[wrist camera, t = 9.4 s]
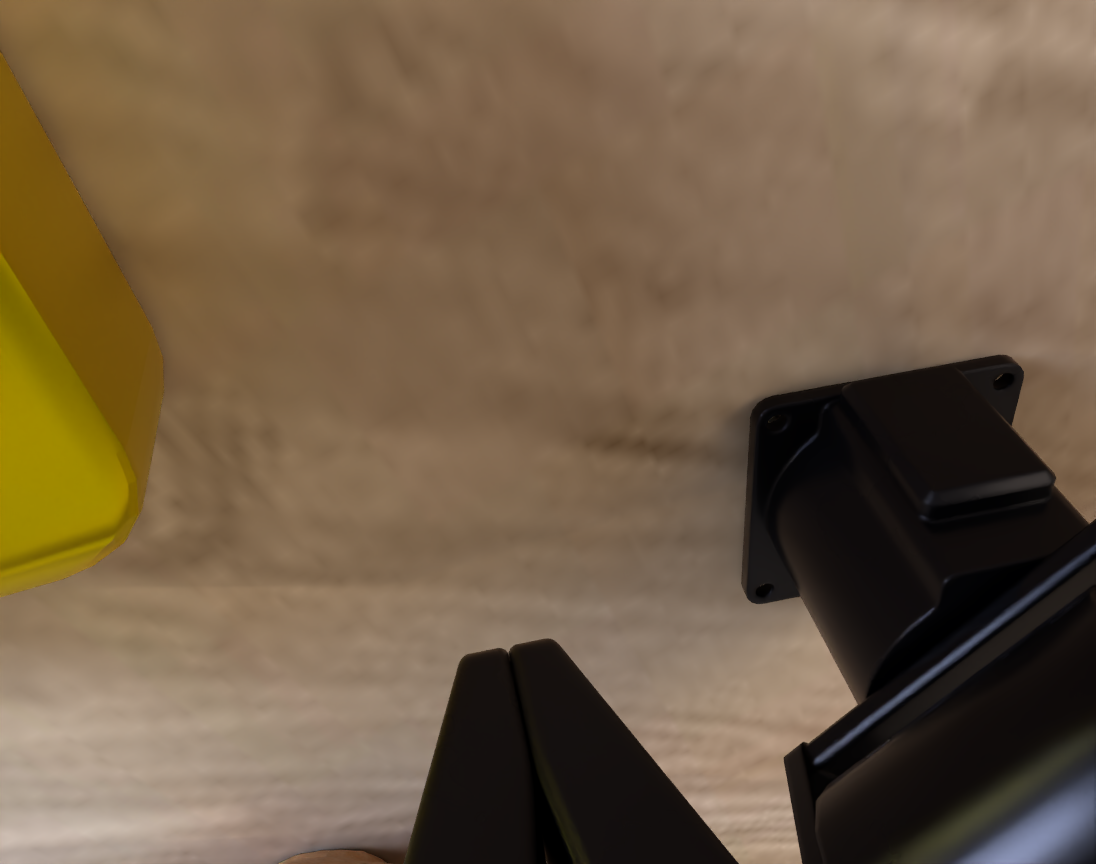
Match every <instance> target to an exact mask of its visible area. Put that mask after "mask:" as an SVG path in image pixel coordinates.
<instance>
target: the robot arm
mask: <svg viewBox="0 0 1096 864" xmlns="http://www.w3.org/2000/svg"><path fill="white" fill-rule="evenodd" d="M1002 374H1003V375H1002ZM1000 375H1002V376H1001V377H1000V378H999V379H998V380H995V379H996V378H997V377H999V376H1000ZM1023 379H1024V371H1023V370H1022V368H1021V367H1020V366H1019V365H1018V364H1017V363H1016V362H1015V361H1014V360H1013V359H1012V358H1011V357H1009V356H1007V355H996V356H990V357H985V358H979V359H974V360H968V361H963V362H957V363H952V364H946V365H941V366H935V367H930V368H924V369H919V370H913V371H908V372H902V373H897V374H891V375H886V376H880V377H875V378H869V379H864V380H858V381H853V382H847V383H842V384H836V385H831V386H825V387H820V388H814V389H809V390H803V391H798V392H792V393H787V394H781V395H776V396H771V397H768V398H765V399H763V400H762V401H761V402H759V403H758V404H757V405H756V406H755V408H754V409H753V410H752V413H751V417H750V434H749V452H748V471H747V489H746V508H745V526H744V545H743V563H742V582H741V583H742V588H743V590H744V592H745V594H746V596H747V598H748V600H749V601H751V602H752V603H756V604H764V603H769V602H774V601H779V600H784V599H789V598H794V597H799V596H801V598H802V600H803V602H804V603H805V605H806V607H807V609H808V611H809V613H810V615H811V617H812V619H813V620H814V622H815V624H816V626H817V628H818V630H819V632H820V634H821V636H822V637H823V639H824V641H825V643H826V645H827V647H828V649H829V651H830V653H831V654H832V656H833V658H834V660H835V662H836V664H837V666H838V668H839V670H840V671H841V673H842V675H843V677H844V679H845V681H846V683H847V685H848V687H849V689H850V690H851V692H852V694H853V696H854V698H855V700H856V702H857V704H858V705H857V706H856V707H854V708H853V709H852V710H851V711H849V712H848V713H847V714H845V715H844V716H843V717H842V718H840V719H839V720H838V721H836V722H835V723H834V724H833V725H831V726H830V727H829V728H827V729H826V730H825V731H824V732H822V733H821V734H820V735H819V736H817V737H816V738H815V739H813V740H812V741H811V742H810V743H805V742H802V743H801V744H800V745H799V746H797V747H796V748H795V749H794V750H792V751H791V752H790V753H788V754H787V755H786V756H785V757H784V764H785V770H786V775H787V781H788V786H789V792H790V798H791V803H792V809H793V814H794V820H795V825H796V831H797V836H798V842H799V848H800V853H801V859H802V864H1096V519H1095V520H1094V521H1093V522H1091V523H1090V524H1089V523H1088V522H1087V521H1086V520H1085V519H1084V518H1083V517H1082V515H1081V514H1080V513H1079V512H1078V511H1077V510H1076V509H1075V508H1074V507H1073V505H1072V504H1071V503H1070V502H1069V501H1068V500H1067V499H1066V498H1065V497H1064V496H1063V494H1062V493H1061V492H1060V491H1059V490H1058V489H1057V488H1056V487H1055V486H1054V483H1055V480H1056V477H1055V474H1054V472H1053V471H1052V470H1051V469H1050V468H1049V467H1048V466H1047V465H1046V464H1045V463H1044V462H1043V460H1042V459H1041V458H1040V457H1039V456H1038V455H1037V454H1036V453H1035V452H1034V451H1033V450H1032V448H1031V447H1030V446H1029V445H1028V444H1027V443H1026V442H1025V441H1024V440H1023V439H1022V438H1021V436H1020V435H1019V434H1018V433H1017V432H1016V431H1015V430H1014V429H1013V428H1012V427H1011V426H1012V422H1013V418H1014V414H1015V410H1016V406H1017V402H1018V398H1019V394H1020V390H1021V386H1022V383H1023ZM776 415H781V416H780V417H779V418H778V419H777V420H776V421H773V422H768V421H769V420H770V419H771V418H772V417H774V416H776ZM763 584H764V585H763ZM546 861H547V862H546ZM404 864H738V862H737V861H736V860H735V859H734V857H733V856H732V855H731V854H730V853H729V851H728V850H727V849H726V848H725V846H724V845H723V844H722V843H721V842H720V840H719V839H718V838H717V837H716V835H715V834H714V833H713V832H712V831H711V829H710V828H709V827H708V826H707V824H706V823H705V822H704V821H703V820H702V818H701V817H700V816H699V815H698V813H697V812H696V811H695V810H694V809H693V807H692V806H691V805H690V804H689V803H688V801H687V800H686V799H685V798H684V796H683V795H682V794H681V793H680V792H679V790H678V789H677V788H676V787H675V785H674V784H673V783H672V782H671V781H670V779H669V778H668V777H667V776H666V774H665V773H664V772H663V771H662V770H661V768H660V767H659V766H658V765H657V763H656V762H655V761H654V760H653V759H652V757H651V756H650V755H649V754H648V752H647V751H646V750H645V749H644V748H643V746H642V745H641V744H640V743H639V741H638V740H637V739H636V738H635V737H634V735H633V734H632V733H631V732H630V730H629V729H628V728H627V727H626V726H625V724H624V723H623V722H622V721H621V719H620V718H619V717H618V716H617V715H616V713H615V712H614V711H613V710H612V708H611V707H610V706H609V705H608V704H607V702H606V701H605V700H604V699H603V698H602V696H601V695H600V694H599V693H598V691H597V690H596V689H595V688H594V687H593V685H592V684H591V683H590V682H589V680H588V679H587V678H586V677H585V676H584V674H583V673H582V672H581V671H580V669H579V668H578V667H577V666H576V665H575V663H574V662H573V661H572V660H571V658H570V657H569V656H568V655H567V654H566V652H565V651H564V650H563V649H562V647H561V646H560V645H559V644H558V643H557V642H555V641H554V640H552V639H541V640H536V641H531V642H526V643H521V644H516V645H514V646H513V647H512V648H511V649H510V651H509V655H508V652H507V651H506V650H504V649H502V648H496V649H491V650H486V651H481V652H476V653H471V654H467V655H465V656H464V657H463V658H462V659H461V661H460V663H459V665H458V668H457V672H456V676H455V679H454V683H453V687H452V690H451V694H450V697H449V701H448V705H447V708H446V712H445V716H444V719H443V723H442V726H441V730H440V734H439V737H438V741H437V745H436V748H435V752H434V755H433V759H432V763H431V766H430V770H429V774H428V777H427V781H426V784H425V788H424V792H423V795H422V799H421V803H420V806H419V810H418V813H417V817H416V821H415V824H414V828H413V832H412V835H411V839H410V842H409V846H408V850H407V853H406V857H405V860H404Z"/></svg>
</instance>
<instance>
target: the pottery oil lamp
mask: <svg viewBox="0 0 1096 864" xmlns="http://www.w3.org/2000/svg"><path fill="white" fill-rule="evenodd" d="M278 864H392V863H385V862H384V860H382V859H380V858H378V857H376V856H374V855H371V854H368V853H366V852H364V851H352V850H333V851H327V850H322V851H317V852H311V853H303V854H299V855H296V856H293V857H291V858H289V859H287V860H284V861H282V862H280V863H278Z"/></svg>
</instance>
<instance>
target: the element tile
mask: <svg viewBox="0 0 1096 864" xmlns="http://www.w3.org/2000/svg"><path fill="white" fill-rule="evenodd" d="M163 394H164V375H163V356H162V354H161V351H160V348H159V345H158V342H157V340H156V337H155V334H154V331H153V328H152V326H151V324H150V323H149V321H148V319H147V317H146V315H145V313H144V312H143V310H142V308H141V306H140V304H139V303H138V301H137V299H136V297H135V295H134V293H133V292H132V290H131V288H130V286H129V284H128V282H127V281H126V279H125V277H124V275H123V273H122V272H121V270H120V268H119V266H118V264H117V262H116V261H115V259H114V257H113V255H112V253H111V251H110V250H109V248H108V246H107V244H106V242H105V241H104V239H103V237H102V235H101V233H100V231H99V230H98V228H97V226H96V224H95V222H94V221H93V219H92V217H91V215H90V213H89V211H88V210H87V208H86V206H85V204H84V202H83V200H82V199H81V197H80V195H79V193H78V191H77V190H76V188H75V186H74V184H73V182H72V180H71V179H70V177H69V175H68V173H67V171H66V169H65V168H64V166H63V164H62V162H61V160H60V159H59V157H58V155H57V153H56V151H55V149H54V148H53V146H52V144H51V142H50V140H49V138H48V137H47V135H46V133H45V131H44V129H43V128H42V126H41V124H40V122H39V120H38V118H37V117H36V115H35V113H34V111H33V109H32V108H31V106H30V104H29V102H28V100H27V98H26V97H25V95H24V93H23V91H22V89H21V87H20V86H19V84H18V82H17V80H16V78H15V77H14V75H13V73H12V71H11V69H10V67H9V66H8V64H7V62H6V60H5V58H4V56H3V55H2V53H1V51H0V597H4V596H7V595H10V594H14V593H17V592H21V591H24V590H28V589H31V588H34V587H38V586H41V585H45V584H48V583H52V582H55V581H58V580H62V579H65V578H67V577H69V576H71V575H74V574H76V573H78V572H80V571H83V570H85V569H87V568H89V567H92V566H94V565H95V564H96V563H98V562H99V561H100V560H102V559H103V558H104V557H106V556H107V555H108V554H110V553H111V552H112V551H114V550H115V549H116V548H118V547H119V546H120V545H122V544H123V543H124V542H125V541H126V539H127V538H128V536H129V534H130V532H131V530H132V528H133V526H134V524H135V522H136V520H137V518H138V516H139V514H140V512H141V511H142V508H143V502H144V497H145V491H146V486H147V481H148V475H149V470H150V464H151V459H152V454H153V448H154V443H155V437H156V432H157V427H158V421H159V416H160V410H161V405H162V400H163Z"/></svg>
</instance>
